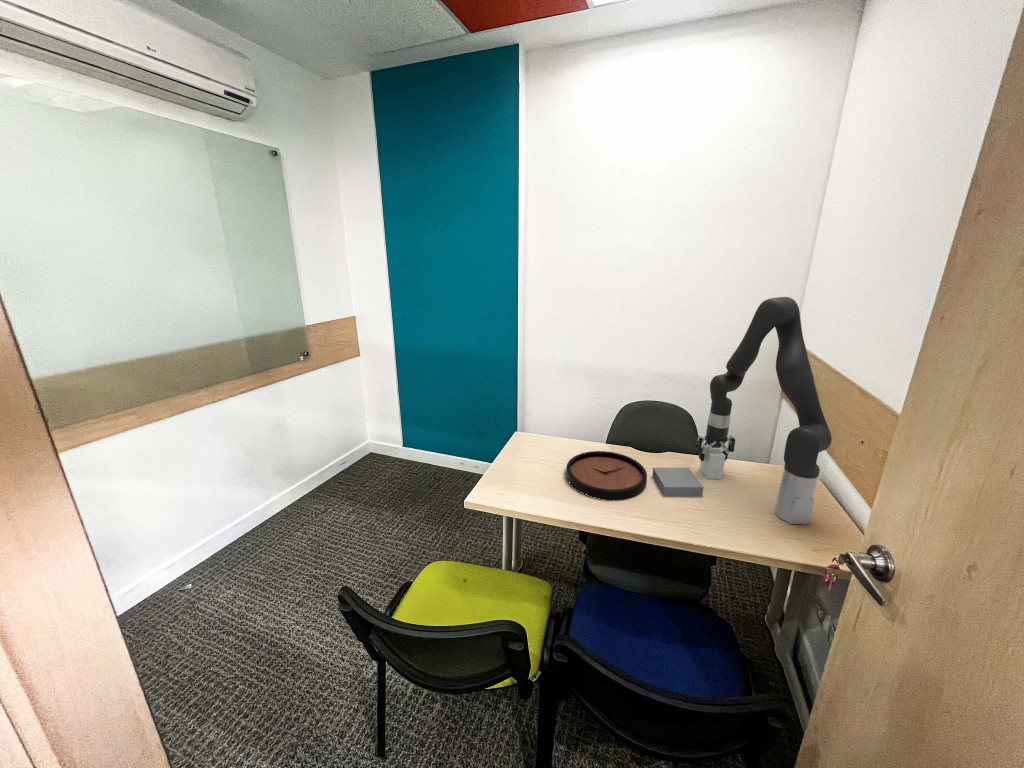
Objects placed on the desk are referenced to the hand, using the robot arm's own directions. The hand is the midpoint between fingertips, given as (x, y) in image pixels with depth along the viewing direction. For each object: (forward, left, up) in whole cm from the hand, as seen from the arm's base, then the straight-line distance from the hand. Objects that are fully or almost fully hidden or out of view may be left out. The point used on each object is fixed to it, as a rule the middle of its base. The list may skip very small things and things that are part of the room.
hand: (712, 460), depth 159 cm
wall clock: (-3, +43, -7) cm, 44 cm away
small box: (0, 0, -6) cm, 6 cm away
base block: (-9, +17, -6) cm, 20 cm away
